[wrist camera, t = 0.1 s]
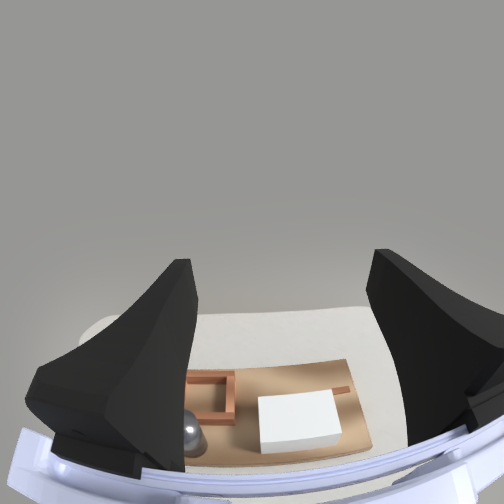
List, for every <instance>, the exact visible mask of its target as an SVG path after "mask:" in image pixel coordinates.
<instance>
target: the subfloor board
mask: <svg viewBox="0 0 504 504" xmlns="http://www.w3.org/2000/svg"><path fill="white" fill-rule="evenodd" d="M329 389H332V393H333V397H334V401H335V405H336V409H337V413H338V417H339V421H340V426H341V430H342V434H341V436H340V438H339V440H338V442H337V444H336V445H335V446H329V447H323V448H316V449H309V450H302V451H293V452H283V453H271V454H261V444H260V426H259V407H258V397H261V396H276V395H287V394H297V393H306V392H314V391H322V390H329ZM184 409H186V410H189V411H191V412H192V413H193V414H194V415H195V416H196V418H197V421H198V423H199V425H200V427H201V429H202V431H203V434H204V436H205V438H206V440H207V442H208V448H207V451H206V452H205V453H204V454H203V455H202V456H200V457H198V458H187V457H185V456H184V460H185V465H189V466H206V467H255V466H273V465H284V464H294V463H303V462H310V461H317V460H323V459H329V458H335V457H340V456H345V455H350V454H355V453H359V452H363V451H367V450H370V449H371V448H372V446H373V445H372V442H371V438H370V435H369V431H368V428H367V425H366V421H365V418H364V415H363V411H362V408H361V405H360V402H359V398H358V395H357V392H356V389H355V386H354V383H353V379H352V376H351V373H350V370H349V367H348V364H347V361H346V359H341V360H334V361H326V362H318V363H310V364H300V365H290V366H278V367H265V368H248V369H218V370H187V375H186V385H185V401H184Z"/></svg>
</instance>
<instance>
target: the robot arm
mask: <svg viewBox="0 0 504 504" xmlns="http://www.w3.org/2000/svg"><path fill="white" fill-rule="evenodd" d="M366 292H367V295H368V299H369V302H370V305H371V309H372V311H373V314H374V316H375V318H376V320H377V323H378V325H379V327H380V329H381V331H382V334H383V336H384V338H385V340H386V343H387V345H388V347H389V350H390V352H391V355H392V357H393V360H394V363H395V367H396V371H397V375H398V378H399V382H400V387H401V392H402V397H403V402H404V409H405V415H406V424H407V437H408V447H406V448H403V449H400V450H397V451H394V452H390V453H387V454H383V455H380V456H376V457H372V458H368V459H364V460H360V461H356V462H351V463H346V464H341V465H336V466H331V467H325V468H318V469H312V470H304V471H296V472H286V473H273V474H255V475H213V474H194V473H185V460H184V401H185V385H186V375H187V368H188V363H189V358H190V353H191V347H192V343H193V338H194V332H195V327H196V322H197V310H198V296H197V291H196V286H195V281H194V276H193V271H192V266H191V260H190V259H175V260H174V261H173V262H172V263H171V264H170V265H169V266H168V267H167V269H166V270H165V271H164V272H163V273H162V274H161V275H160V276H159V278H158V279H157V280H156V281H155V282H154V283H153V284H152V285H151V286H150V288H149V289H148V290H147V291H146V292H145V293H144V294H143V295H142V296H141V297H140V298H139V299H138V300H137V301H136V302H135V303H134V304H133V305H132V306H131V307H130V308H129V309H128V310H127V311H126V312H124V313H123V314H122V315H121V316H120V317H119V318H118V319H116V320H115V321H114V322H113V323H112V324H110V325H109V326H108V327H106V328H105V329H104V330H102V331H101V332H99V333H98V334H97V335H95V336H94V337H93V338H91V339H90V340H88V341H87V342H85V343H84V344H82V345H80V346H79V347H77V348H76V349H74V350H72V351H70V352H69V353H67V354H65V355H64V356H61V357H59V358H57V359H55V360H53V361H51V362H49V363H47V364H45V365H43V366H40V367H39V368H38V369H37V371H36V374H35V376H34V378H33V380H32V383H31V385H30V388H29V390H28V392H27V395H26V397H25V403H26V405H27V407H28V408H29V410H30V411H31V412H32V413H33V414H34V415H35V416H36V417H37V418H39V419H40V420H41V421H42V422H43V423H44V424H46V425H47V426H48V427H49V428H50V429H52V430H53V431H54V432H55V436H54V440H53V439H51V438H49V437H48V436H45V435H43V434H40V433H38V432H36V431H33V430H31V429H28V428H26V427H23V428H22V430H21V433H20V436H19V439H18V442H17V446H16V449H15V452H14V456H13V459H12V463H11V467H10V471H9V475H8V480H7V485H8V486H10V487H11V488H13V489H15V490H16V491H18V492H19V493H21V494H23V495H25V496H26V497H28V498H30V499H32V500H33V501H35V502H37V503H39V504H232V503H231V502H230V501H229V500H219V499H210V498H202V497H222V498H252V497H273V496H285V495H295V494H303V493H311V492H317V491H323V490H329V489H335V488H340V487H344V486H349V485H353V484H358V483H362V482H366V481H370V480H373V479H377V478H380V477H384V476H387V475H390V474H394V473H397V472H400V471H403V470H406V469H408V468H411V467H414V466H417V465H419V464H422V463H424V462H427V461H429V460H432V459H434V458H435V459H434V460H432V461H430V462H428V463H425V464H423V465H421V466H419V467H417V468H416V469H415V470H413V471H412V472H411V473H409V474H408V475H406V476H404V477H402V478H400V479H398V480H396V481H394V482H393V483H392V486H389V487H386V488H382V489H379V490H375V491H372V492H368V493H364V494H360V495H356V496H352V497H348V498H344V499H339V500H334V501H329V502H324V503H318V504H476V503H477V501H478V496H477V493H479V492H480V491H481V490H483V489H484V488H486V487H487V486H488V485H490V484H491V483H492V482H494V481H495V480H496V479H498V478H499V477H500V476H501V475H503V474H504V315H502V314H499V313H496V312H494V311H492V310H489V309H487V308H485V307H483V306H480V305H478V304H476V303H474V302H472V301H470V300H468V299H466V298H465V297H463V296H461V295H459V294H457V293H455V292H454V291H452V290H450V289H449V288H447V287H446V286H444V285H443V284H441V283H439V282H438V281H436V280H435V279H433V278H432V277H430V276H429V275H427V274H426V273H424V272H423V271H422V270H420V269H419V268H417V267H416V266H414V265H413V264H411V263H410V262H408V261H407V260H406V259H404V258H402V257H401V256H400V255H398V254H396V253H395V252H393V251H391V250H389V249H375V252H374V256H373V261H372V265H371V270H370V274H369V278H368V282H367V287H366ZM186 495H189V496H186ZM195 496H202V497H195Z"/></svg>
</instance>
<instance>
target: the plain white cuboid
mask: <svg viewBox="0 0 504 504" xmlns="http://www.w3.org/2000/svg"><path fill="white" fill-rule="evenodd" d="M258 407H259V426H260V444H261V454H271V453H283V452H293V451H302V450H309V449H316V448H323V447H329V446H335V445H336V444H337V442H338V440H339V438H340V436H341V434H342V430H341V426H340V421H339V417H338V413H337V409H336V405H335V401H334V397H333V393H332V389H329V390H322V391H314V392H306V393H297V394H287V395H276V396H261V397H258Z"/></svg>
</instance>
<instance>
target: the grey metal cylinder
mask: <svg viewBox="0 0 504 504" xmlns="http://www.w3.org/2000/svg"><path fill="white" fill-rule="evenodd" d="M207 448H208V442H207V440H206V438H205V436H204V434H203V431H202V429H201V427H200V425H199V423H198V421H197V418H196V416H195V415H194V414H193V413H192V412H191V411H189V410H186V409H184V456H185V457H187V458H198V457H200V456H202V455H203V454H204V453H205V452H206V451H207Z"/></svg>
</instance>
